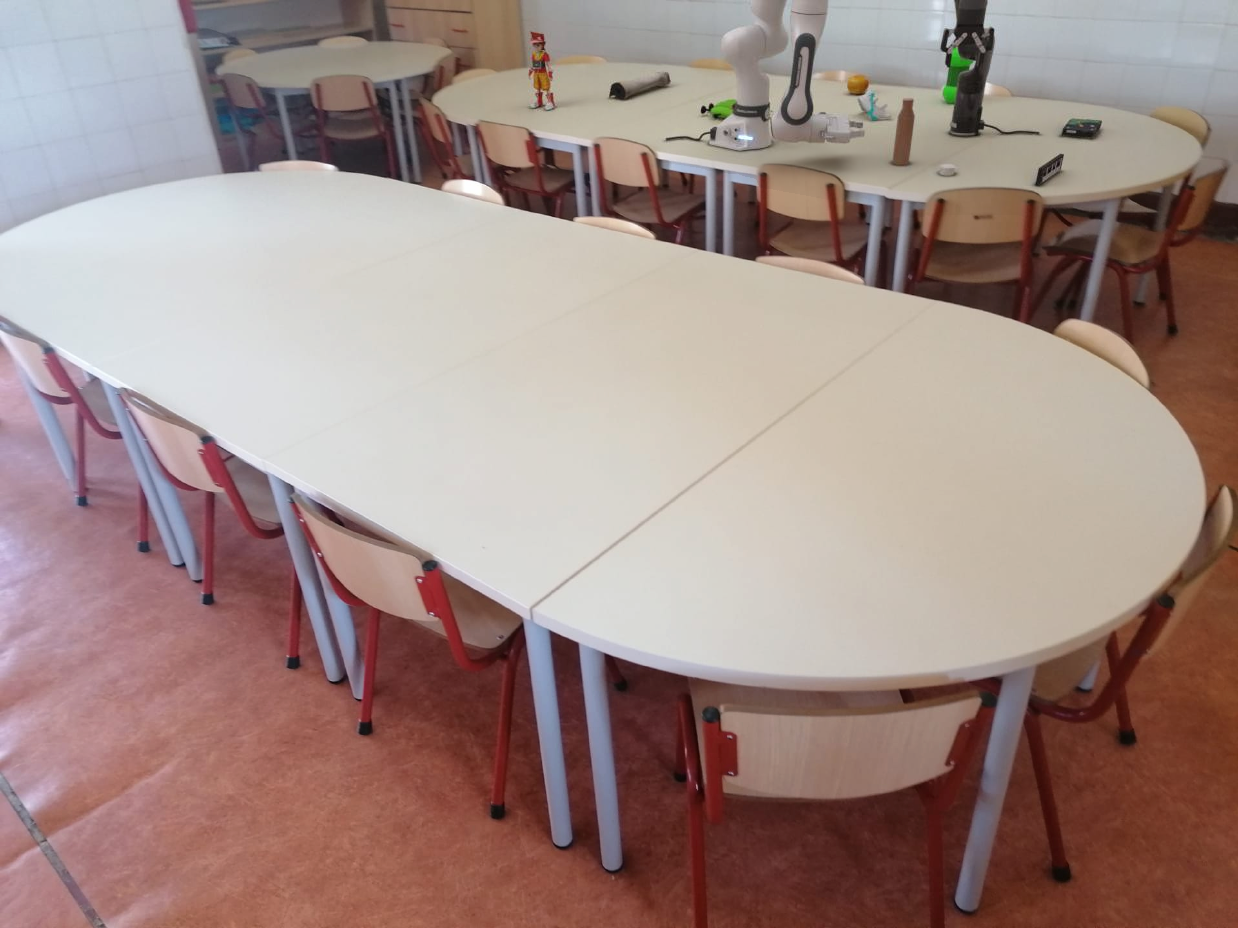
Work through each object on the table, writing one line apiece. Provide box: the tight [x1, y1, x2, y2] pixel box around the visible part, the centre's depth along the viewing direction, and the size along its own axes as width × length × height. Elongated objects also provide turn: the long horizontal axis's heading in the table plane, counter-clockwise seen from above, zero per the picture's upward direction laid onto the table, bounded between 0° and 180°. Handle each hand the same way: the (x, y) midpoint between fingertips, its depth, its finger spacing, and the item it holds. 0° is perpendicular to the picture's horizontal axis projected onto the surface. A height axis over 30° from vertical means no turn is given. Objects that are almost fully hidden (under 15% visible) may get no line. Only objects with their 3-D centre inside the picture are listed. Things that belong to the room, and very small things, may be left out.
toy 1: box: [527, 31, 556, 111], centre depth 374 cm, size 12×9×30 cm
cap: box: [939, 163, 956, 177], centre depth 283 cm, size 4×4×2 cm
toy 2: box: [700, 99, 774, 119], centre depth 353 cm, size 28×5×30 cm
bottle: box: [891, 97, 916, 166], centre depth 289 cm, size 5×5×20 cm
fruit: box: [846, 74, 870, 95], centre depth 372 cm, size 8×8×8 cm
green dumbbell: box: [942, 47, 974, 104], centre depth 348 cm, size 10×10×25 cm
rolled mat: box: [608, 71, 672, 101], centre depth 395 cm, size 30×9×10 cm
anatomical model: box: [857, 89, 892, 121], centre depth 341 cm, size 15×10×10 cm
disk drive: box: [1061, 117, 1103, 139], centre depth 311 cm, size 10×3×15 cm
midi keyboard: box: [1035, 153, 1065, 186], centre depth 273 cm, size 18×1×5 cm, turn 138°
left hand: (863, 129), depth 291 cm, fingers open, 8 cm apart
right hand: (963, 66), depth 265 cm, fingers open, 8 cm apart
